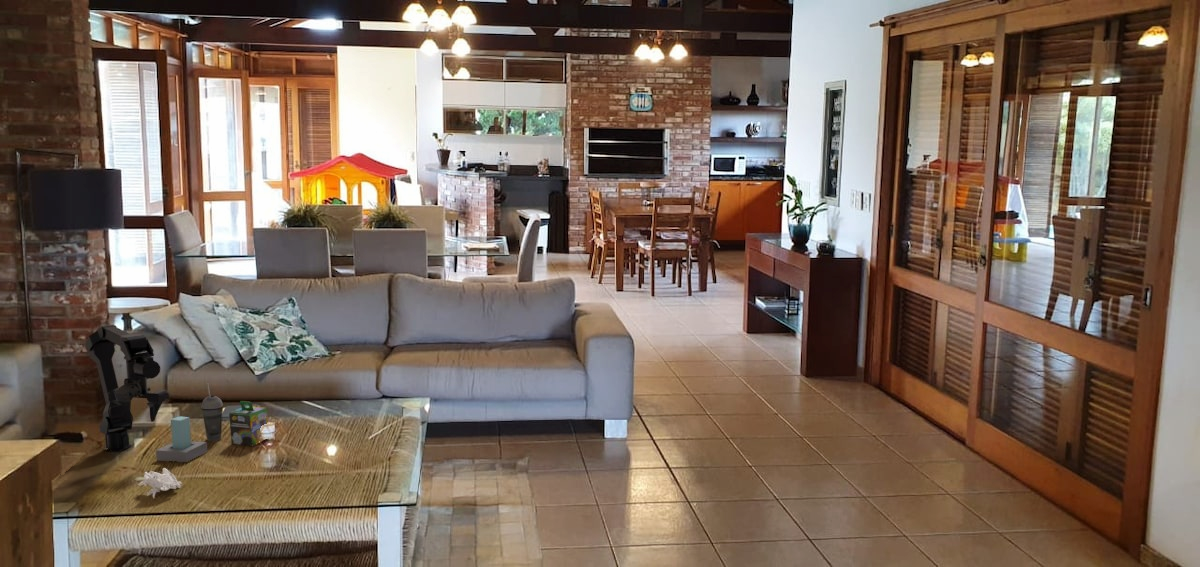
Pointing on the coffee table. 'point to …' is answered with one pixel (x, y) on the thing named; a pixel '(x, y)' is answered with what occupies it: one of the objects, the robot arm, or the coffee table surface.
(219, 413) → the beverage cup
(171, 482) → the white crumpled lump
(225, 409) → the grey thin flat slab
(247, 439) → the chalk box
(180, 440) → the peg
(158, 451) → the socket
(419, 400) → the coffee table surface
